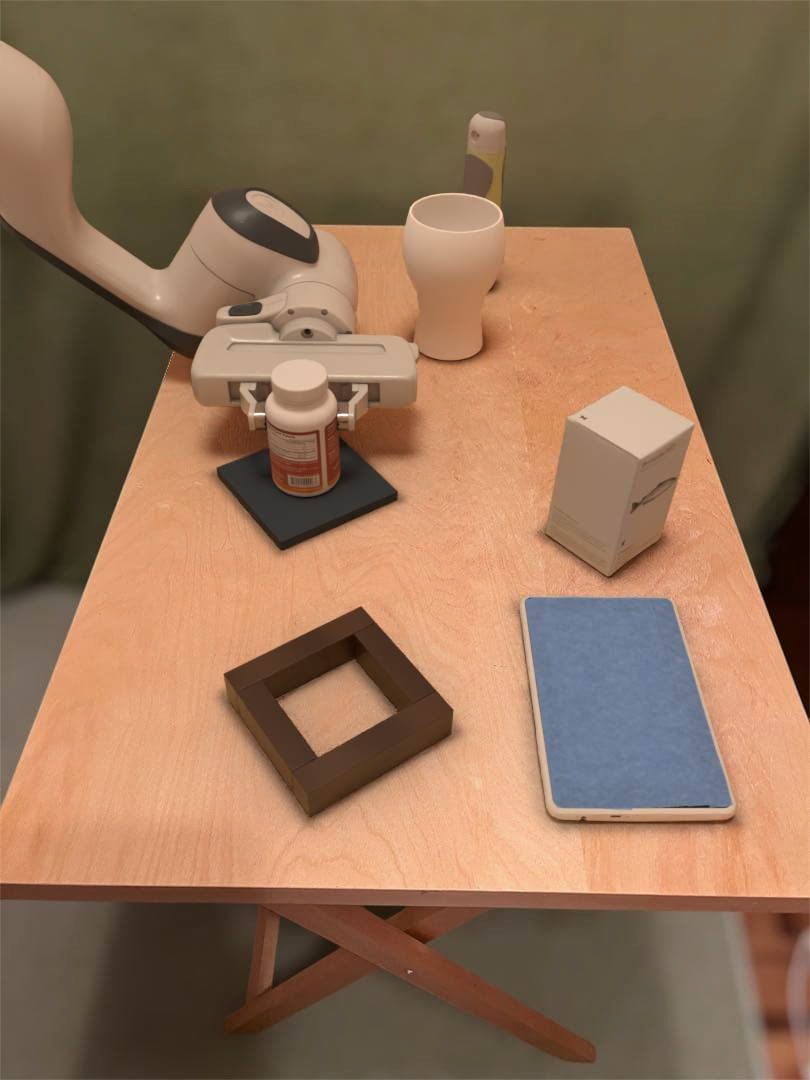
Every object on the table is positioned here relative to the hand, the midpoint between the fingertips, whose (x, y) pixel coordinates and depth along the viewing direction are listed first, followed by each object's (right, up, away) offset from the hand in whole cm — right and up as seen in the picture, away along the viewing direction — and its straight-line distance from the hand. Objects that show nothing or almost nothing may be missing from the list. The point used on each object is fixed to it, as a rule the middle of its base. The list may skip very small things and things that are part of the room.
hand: (301, 424), depth 78 cm
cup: (+14, +12, +25) cm, 31 cm away
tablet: (+24, -22, -11) cm, 34 cm away
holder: (+4, -22, -12) cm, 26 cm away
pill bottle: (0, -4, +5) cm, 7 cm away
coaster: (0, -5, +6) cm, 8 cm away
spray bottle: (+17, +22, +35) cm, 44 cm away
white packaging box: (+26, -10, +2) cm, 28 cm away
